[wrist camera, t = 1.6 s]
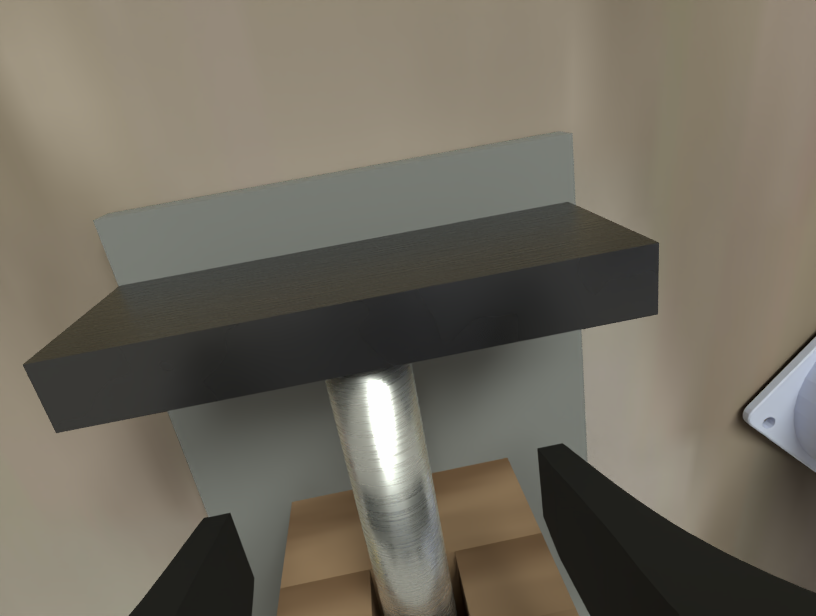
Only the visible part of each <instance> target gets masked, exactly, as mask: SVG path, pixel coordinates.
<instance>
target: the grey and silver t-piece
mask: <svg viewBox="0 0 816 616" xmlns="http://www.w3.org/2000/svg"><path fill="white" fill-rule="evenodd" d="M658 266H659V242H656V241H654V240H652V239H650V238H647V237H645V236H643V235H641V234H639V233H636V232H634V231H632V230H630V229H627V228H625V227H623V226H621V225H619V224H616V223H614V222H612V221H610V220H607V219H605V218H603V217H601V216H599V215H596V214H594V213H592V212H590V211H588V210H585V209H583V208H581V207H579V206H576V205H574V204H572V203H570V202H564V203H558V204H553V205H548V206H542V207H537V208H532V209H526V210H521V211H516V212H510V213H505V214H500V215H494V216H489V217H484V218H478V219H473V220H468V221H462V222H457V223H452V224H446V225H441V226H436V227H430V228H425V229H420V230H414V231H409V232H404V233H398V234H393V235H388V236H382V237H377V238H372V239H366V240H361V241H356V242H350V243H345V244H340V245H334V246H329V247H324V248H318V249H313V250H308V251H302V252H297V253H292V254H286V255H281V256H276V257H270V258H265V259H260V260H254V261H249V262H244V263H238V264H233V265H228V266H222V267H217V268H212V269H206V270H201V271H195V272H190V273H185V274H179V275H174V276H169V277H163V278H158V279H153V280H147V281H142V282H137V283H131V284H126V285H121V286H119V287H118V288H116V289H115V290H114V291H113V292H112V293H110V294H109V295H108V296H107V297H105V298H104V299H103V300H102V301H100V302H99V303H98V304H97V305H96V306H94V307H93V308H92V309H91V310H89V311H88V312H87V313H86V314H84V315H83V316H82V317H81V318H80V319H78V320H77V321H76V322H75V323H73V324H72V325H71V326H70V327H68V328H67V329H66V330H65V331H64V332H62V333H61V334H60V335H59V336H57V337H56V338H55V339H54V340H52V341H51V342H50V343H49V344H48V345H46V346H45V347H44V348H43V349H41V350H40V351H39V352H38V353H36V354H35V355H34V356H33V357H32V358H30V359H29V360H28V361H27V362H25V363H24V364H23V366H24V368H25V370H26V372H27V374H28V376H29V379H30V381H31V383H32V385H33V387H34V389H35V391H36V393H37V395H38V397H39V399H40V401H41V403H42V405H43V407H44V409H45V411H46V413H47V415H48V417H49V419H50V421H51V423H52V426H53V428H54V430H55V432H56V433H59V432H64V431H69V430H74V429H79V428H84V427H89V426H95V425H100V424H105V423H110V422H115V421H120V420H125V419H130V418H135V417H140V416H145V415H150V414H155V413H160V412H165V411H171V410H176V409H181V408H186V407H191V406H196V405H201V404H206V403H211V402H216V401H221V400H226V399H231V398H236V397H241V396H246V395H252V394H257V393H262V392H267V391H272V390H277V389H282V388H287V387H292V386H297V385H302V384H307V383H312V382H317V381H322V380H325V383H326V387H327V391H328V395H329V399H330V403H331V407H332V411H333V415H334V419H335V423H336V427H337V431H338V435H339V438H340V442H341V446H342V450H343V454H344V458H345V462H346V466H347V470H348V474H349V478H350V482H351V486H352V490H353V494H354V498H355V502H356V506H357V509H358V513H359V517H360V521H361V525H362V529H363V533H364V537H365V541H366V545H367V549H368V553H369V557H370V561H371V565H372V569H373V573H374V577H375V580H376V584H377V588H378V592H379V596H380V600H381V604H382V608H383V612H384V616H457V611H456V605H455V600H454V594H453V589H452V583H451V578H450V572H449V566H448V561H447V555H446V550H445V544H444V539H443V533H442V528H441V522H440V517H439V511H438V506H437V500H436V495H435V489H434V484H433V478H432V473H431V467H430V462H429V456H428V451H427V445H426V440H425V434H424V429H423V423H422V418H421V412H420V407H419V401H418V396H417V390H416V385H415V379H414V374H413V368H412V363H414V362H419V361H424V360H429V359H434V358H439V357H444V356H449V355H454V354H459V353H464V352H469V351H474V350H480V349H485V348H490V347H495V346H500V345H505V344H510V343H515V342H520V341H525V340H530V339H535V338H540V337H545V336H550V335H555V334H561V333H566V332H571V331H576V330H581V329H586V328H591V327H596V326H601V325H606V324H611V323H616V322H621V321H626V320H631V319H637V318H642V317H647V316H652V315H657V314H658Z"/></svg>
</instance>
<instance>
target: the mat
mask: <svg viewBox="0 0 816 616" xmlns="http://www.w3.org/2000/svg"><path fill="white" fill-rule="evenodd" d="M564 202H570V203H572V204H574V205H576V203H575V182H574V160H573V138H572V133H567V132H554V133H549V134H543V135H538V136H532V137H527V138H521V139H516V140H510V141H505V142H499V143H494V144H488V145H482V146H477V147H471V148H466V149H460V150H455V151H449V152H444V153H438V154H433V155H427V156H422V157H416V158H411V159H405V160H400V161H394V162H389V163H383V164H378V165H372V166H367V167H361V168H356V169H350V170H345V171H339V172H334V173H328V174H323V175H317V176H312V177H306V178H301V179H295V180H290V181H284V182H279V183H273V184H268V185H262V186H257V187H251V188H246V189H240V190H235V191H229V192H224V193H218V194H213V195H207V196H202V197H196V198H191V199H185V200H180V201H174V202H169V203H163V204H158V205H152V206H147V207H141V208H136V209H130V210H125V211H119V212H114V213H108V214H106V215H104V216H102V217H99V218H97V219H95V220H93V222H94V224H95V227H96V229H97V232H98V234H99V237H100V240H101V242H102V245H103V247H104V250H105V252H106V255H107V258H108V260H109V263H110V265H111V268H112V270H113V273H114V275H115V278H116V281H117V283H118V286H121V285H126V284H131V283H137V282H142V281H147V280H153V279H158V278H163V277H169V276H174V275H179V274H185V273H190V272H195V271H201V270H206V269H212V268H217V267H222V266H228V265H233V264H238V263H244V262H249V261H254V260H260V259H265V258H270V257H276V256H281V255H286V254H292V253H297V252H302V251H308V250H313V249H318V248H324V247H329V246H334V245H340V244H345V243H350V242H356V241H361V240H366V239H372V238H377V237H382V236H388V235H393V234H398V233H404V232H409V231H414V230H420V229H425V228H430V227H436V226H441V225H446V224H452V223H457V222H462V221H468V220H473V219H478V218H484V217H489V216H494V215H500V214H505V213H510V212H516V211H521V210H526V209H532V208H537V207H542V206H548V205H553V204H558V203H564ZM412 368H413V374H414V379H415V385H416V390H417V396H418V401H419V407H420V412H421V418H422V423H423V429H424V434H425V440H426V445H427V451H428V456H429V462H430V467H431V473H435V472H440V471H445V470H450V469H455V468H459V467H464V466H469V465H474V464H479V463H484V462H489V461H493V460H498V459H503V458H508V460H509V462H510V464H511V467H512V469H513V471H514V473H515V475H516V478H517V480H518V482H519V484H520V486H521V489H522V491H523V493H524V495H525V497H526V500H527V502H528V504H529V506H530V508H531V511H532V513H533V515H534V517H535V520H536V522H537V524H538V526H539V528H540V531H541V533H542V535H543V537H544V539H545V542H546V544H547V546H548V548H549V550H550V553H551V555H552V557H553V559H554V561H555V564H556V566H557V568H558V570H559V573H560V575H561V577H562V579H563V581H564V584H565V586H566V588H567V590H568V592H569V595H570V597H571V599H572V601H573V603H574V606H575V608H576V610H577V612H578V614H579V616H590V614H589V613H588V611H587V609H586V607H585V605H584V603H583V601H582V599H581V598H580V596H579V594H578V592H577V590H576V588H575V586H574V584H573V583H572V581H571V579H570V577H569V575H568V573H567V571H566V569H565V567H564V565H563V563H562V562H561V560H560V558H559V555H558V553H557V550H556V548H555V545H554V543H553V540H552V538H551V535H550V533H549V530H548V527H547V525H546V522H545V520H544V517H543V509H542V497H541V486H540V474H539V463H538V452H537V448H542V447H546V446H551V445H556V444H561V443H563V444H565V445H566V446H567V447H569V448H570V449H571V450H572V451H574V452H575V453H576V454H577V455H579V456H580V457H581V458H582V459H584V460H585V461H586V462H587V442H586V421H585V399H584V377H583V355H582V334H581V330H576V331H571V332H566V333H561V334H555V335H550V336H545V337H540V338H535V339H530V340H525V341H520V342H515V343H510V344H505V345H500V346H495V347H490V348H485V349H480V350H474V351H469V352H464V353H459V354H454V355H449V356H444V357H439V358H434V359H429V360H424V361H419V362H414V363H412ZM167 412H168V414H169V417H170V419H171V422H172V424H173V427H174V430H175V432H176V435H177V437H178V440H179V442H180V445H181V448H182V450H183V453H184V455H185V458H186V460H187V463H188V466H189V468H190V471H191V473H192V476H193V478H194V481H195V484H196V486H197V489H198V491H199V494H200V496H201V499H202V502H203V504H204V507H205V509H206V512H207V514H208V517H212V516H217V515H222V514H226V513H231V516H232V519H233V521H234V524H235V527H236V529H237V532H238V535H239V538H240V540H241V543H242V546H243V548H244V551H245V554H246V557H247V559H248V562H249V565H250V567H251V570H252V573H253V576H254V578H255V579H254V594H253V607H252V616H277V609H278V602H279V594H280V587H281V579H282V572H283V565H284V557H285V550H286V543H287V535H288V528H289V520H290V513H291V506H292V502H295V501H299V500H304V499H309V498H314V497H319V496H324V495H329V494H333V493H338V492H343V491H348V490H352V486H351V482H350V478H349V474H348V470H347V466H346V462H345V458H344V454H343V450H342V446H341V442H340V438H339V435H338V431H337V427H336V423H335V419H334V415H333V411H332V407H331V403H330V399H329V395H328V391H327V387H326V383H325V380H322V381H317V382H312V383H307V384H302V385H297V386H292V387H287V388H282V389H277V390H272V391H267V392H262V393H257V394H252V395H246V396H241V397H236V398H231V399H226V400H221V401H216V402H211V403H206V404H201V405H196V406H191V407H186V408H181V409H176V410H171V411H167Z"/></svg>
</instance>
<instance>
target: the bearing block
mask: <svg viewBox="0 0 816 616" xmlns="http://www.w3.org/2000/svg"><path fill="white" fill-rule="evenodd" d="M432 478H433V484H434V489H435V495H436V500H437V506H438V511H439V517H440V522H441V528H442V533H443V539H444V544H445V550H446V555H447V561H448V566H449V572H450V578H451V583H452V589H453V594H454V600H455V605H456V611H457V616H579V614H578V612H577V610H576V608H575V606H574V603H573V601H572V599H571V597H570V595H569V592H568V590H567V588H566V586H565V584H564V581H563V579H562V577H561V575H560V573H559V570H558V568H557V566H556V564H555V561H554V559H553V557H552V555H551V553H550V550H549V548H548V546H547V544H546V542H545V539H544V537H543V535H542V533H541V531H540V528H539V526H538V524H537V522H536V520H535V517H534V515H533V513H532V511H531V508H530V506H529V504H528V502H527V500H526V497H525V495H524V493H523V491H522V489H521V486H520V484H519V482H518V480H517V478H516V475H515V473H514V471H513V469H512V467H511V464H510V462H509V460H508V458H503V459H498V460H493V461H489V462H484V463H479V464H474V465H469V466H464V467H459V468H455V469H450V470H445V471H440V472H435V473H432ZM277 616H384V612H383V608H382V604H381V600H380V596H379V592H378V588H377V584H376V580H375V577H374V573H373V569H372V565H371V561H370V557H369V553H368V549H367V545H366V541H365V537H364V533H363V529H362V525H361V521H360V517H359V513H358V509H357V506H356V502H355V498H354V494H353V490H348V491H343V492H338V493H333V494H329V495H324V496H319V497H314V498H309V499H304V500H299V501H295V502H292V506H291V513H290V520H289V528H288V535H287V543H286V550H285V557H284V565H283V572H282V579H281V587H280V594H279V602H278V609H277Z"/></svg>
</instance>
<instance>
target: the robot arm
mask: <svg viewBox="0 0 816 616" xmlns="http://www.w3.org/2000/svg"><path fill="white" fill-rule="evenodd" d="M743 419H744V420H745V422H747V423H748V424H749V425H750V426H752V427H753V428H754V429H756V430H757V431H759V432H760V433H761V434H763V435H764V436H766V437H767V438H768V439H770V440H771V441H773V442H774V443H775V444H777V445H778V446H779V447H781V448H782V449H784V450H785V451H786V452H788V453H789V454H791V455H792V456H793V457H795V458H796V459H797V460H799V461H800V462H802V463H803V464H804V465H806V466H807V467H809V468H810V469H811V470H813V471H814V472H815V473H816V337H815V338H814V339H813V340H812V341H811V342H810V343H809V344H808V345H807V346H806V347H805V348H804V349H803V350H802V351H801V352H800V353H799V354H798V355H797V356H796V357H795V358H794V359H793V360H792V361H791V362H790V363H789V364H788V365H787V366H786V367H785V368H784V369H783V370H782V371H781V372H780V373H779V374H778V375H777V376H776V377H775V378H774V379H773V380H772V381H771V382H770V383H769V384H768V385H767V386H766V387H765V388H764V389H763V390H762V391H761V392H760V393H759V394H758V395H757V396H756V397H755V398H754V400H753V401H752V402H751V403H750V404H749V405H748V406H747V407H746V408H745V409H744V412H743ZM765 419H766V421H764V420H765ZM537 452H538V463H539V474H540V486H541V497H542V509H543V517H544V520H545V522H546V525H547V527H548V530H549V533H550V535H551V538H552V540H553V543H554V545H555V548H556V550H557V553H558V555H559V558H560V560H561V562H562V563H563V565H564V567H565V569H566V571H567V573H568V575H569V577H570V579H571V581H572V583H573V584H574V586H575V588H576V590H577V592H578V594H579V596H580V598H581V599H582V601H583V603H584V605H585V607H586V609H587V611H588V613H589V614H590V616H816V593H814V592H812V591H809V590H807V589H804V588H801V587H799V586H797V585H794V584H792V583H790V582H787V581H785V580H783V579H780V578H778V577H776V576H773V575H771V574H769V573H767V572H765V571H763V570H760V569H758V568H756V567H754V566H752V565H750V564H748V563H745V562H743V561H741V560H739V559H737V558H735V557H733V556H731V555H729V554H727V553H725V552H723V551H721V550H719V549H717V548H716V547H714V546H712V545H710V544H708V543H706V542H705V541H703V540H701V539H699V538H697V537H696V536H694V535H692V534H690V533H688V532H687V531H685V530H683V529H682V528H680V527H678V526H676V525H675V524H673V523H672V522H670V521H668V520H667V519H665V518H664V517H662V516H661V515H659V514H658V513H656V512H655V511H653V510H652V509H650V508H649V507H647V506H646V505H644V504H643V503H641V502H640V501H638V500H637V499H636V498H634V497H633V496H631V495H630V494H629V493H627V492H626V491H624V490H623V489H622V488H620V487H619V486H617V485H616V484H615V483H613V482H612V481H611V480H609V479H608V478H607V477H605V476H604V475H603V474H602V473H600V472H599V471H598V470H596V469H595V468H594V467H593V466H591V465H590V464H589V463H587V462H586V461H585V460H584V459H582V458H581V457H580V456H579V455H577V454H576V453H575V452H574V451H572V450H571V449H570V448H569V447H567V446H566V445H565V444H563V443H561V444H556V445H551V446H546V447H542V448H537ZM254 579H255V578H254V576H253V573H252V570H251V567H250V565H249V562H248V559H247V557H246V554H245V551H244V548H243V546H242V543H241V540H240V538H239V535H238V532H237V529H236V527H235V524H234V521H233V519H232V516H231V513H226V514H222V515H217V516H212V517H207V518H204V519H203V520H202V521H201V522H200V524H199V525H198V526H197V528H196V529H195V530H194V532H193V533H192V534H191V536H190V537H189V538H188V540H187V541H186V542H185V544H184V545H183V546H182V548H181V549H180V550H179V552H178V553H177V555H176V556H175V557H174V559H173V560H172V561H171V563H170V564H169V565H168V567H167V568H166V569H165V571H164V572H163V573H162V575H161V576H160V577H159V578H158V580H157V581H156V582H155V584H154V585H153V586H152V588H151V589H150V590H149V591H148V593H147V594H146V595H145V597H144V598H143V599H142V600H141V602H140V603H139V604H138V605H137V606H136V608H135V609H134V610H133V611H132V612H131V614H130V615H129V616H252V607H253V594H254Z"/></svg>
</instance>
